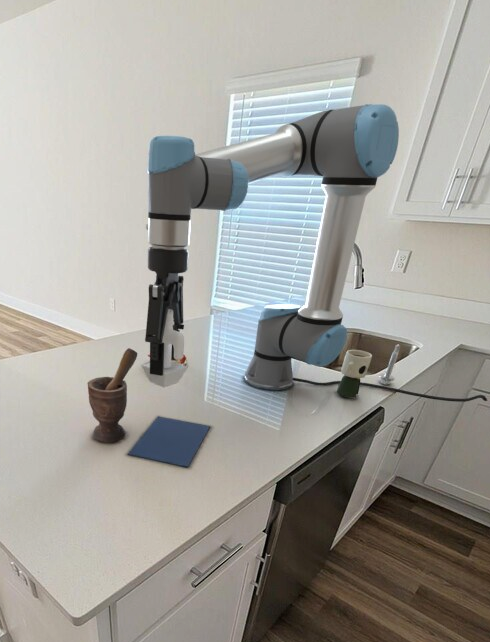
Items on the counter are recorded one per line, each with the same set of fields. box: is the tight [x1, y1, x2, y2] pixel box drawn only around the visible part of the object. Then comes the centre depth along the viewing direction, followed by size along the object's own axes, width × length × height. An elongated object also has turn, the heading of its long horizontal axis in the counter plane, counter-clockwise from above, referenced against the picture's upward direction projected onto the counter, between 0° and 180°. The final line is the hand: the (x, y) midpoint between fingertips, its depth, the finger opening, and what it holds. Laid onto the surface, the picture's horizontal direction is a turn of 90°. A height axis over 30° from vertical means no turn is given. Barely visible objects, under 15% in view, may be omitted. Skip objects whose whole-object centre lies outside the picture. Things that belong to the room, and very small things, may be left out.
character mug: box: [336, 349, 373, 399], centre depth 120 cm, size 11×7×13 cm, turn 136°
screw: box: [378, 343, 401, 386], centre depth 130 cm, size 13×5×5 cm
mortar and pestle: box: [86, 347, 138, 443], centre depth 92 cm, size 12×9×20 cm
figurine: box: [140, 309, 189, 388], centre depth 84 cm, size 7×9×15 cm
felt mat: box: [127, 416, 211, 468], centre depth 96 cm, size 14×20×1 cm
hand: (164, 366), depth 87 cm, fingers closed on figurine, 9 cm apart
